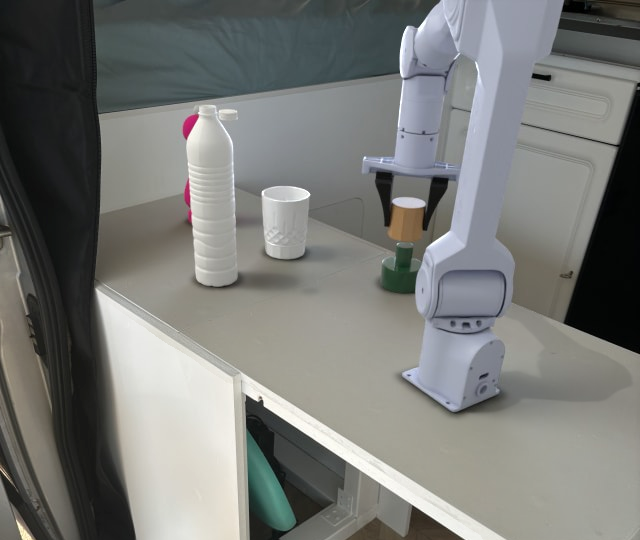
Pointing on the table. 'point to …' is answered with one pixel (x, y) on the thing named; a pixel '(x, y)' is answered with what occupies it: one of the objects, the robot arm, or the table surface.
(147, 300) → the table surface
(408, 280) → the green stepped peg base
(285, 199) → the white cup
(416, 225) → the wooden drum
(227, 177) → the water bottle
